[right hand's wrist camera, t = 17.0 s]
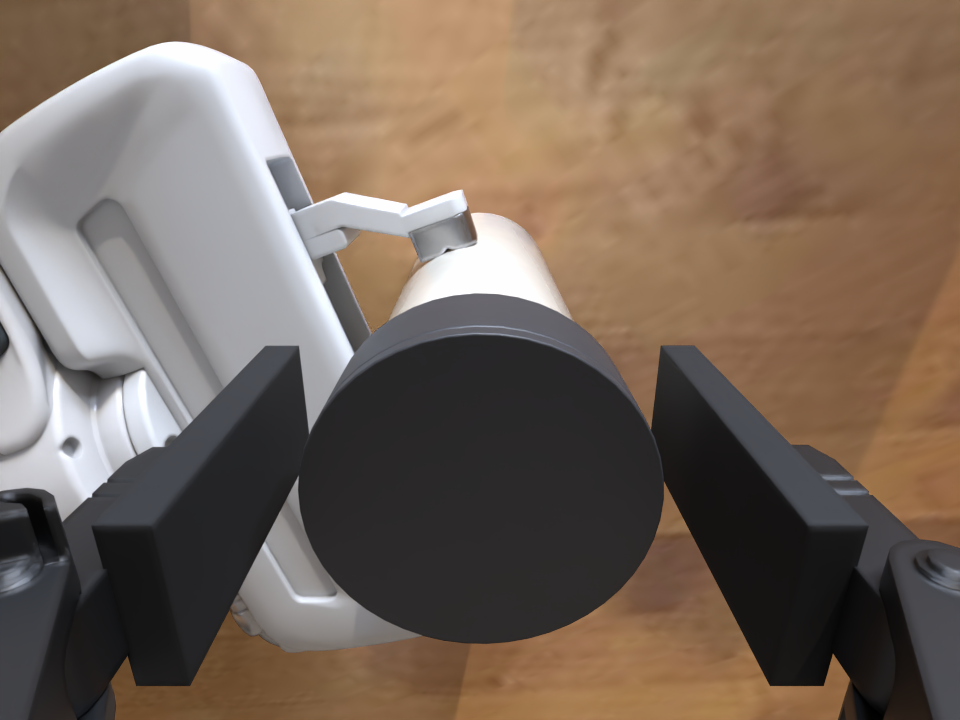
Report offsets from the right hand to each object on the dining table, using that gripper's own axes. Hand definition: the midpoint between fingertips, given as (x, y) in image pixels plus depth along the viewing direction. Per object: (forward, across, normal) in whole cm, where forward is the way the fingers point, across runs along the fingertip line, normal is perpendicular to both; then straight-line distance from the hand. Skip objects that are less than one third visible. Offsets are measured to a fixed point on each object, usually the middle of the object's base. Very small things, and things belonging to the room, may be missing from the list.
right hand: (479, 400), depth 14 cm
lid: (-4, 0, 0) cm, 4 cm away
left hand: (+6, -1, 0) cm, 6 cm away
